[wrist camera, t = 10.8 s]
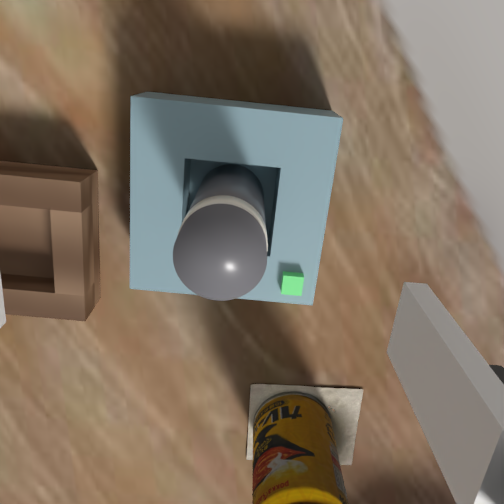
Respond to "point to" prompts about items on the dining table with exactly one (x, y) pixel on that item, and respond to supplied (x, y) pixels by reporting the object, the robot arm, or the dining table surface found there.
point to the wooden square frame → (49, 240)
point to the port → (240, 153)
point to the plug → (223, 236)
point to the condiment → (301, 442)
